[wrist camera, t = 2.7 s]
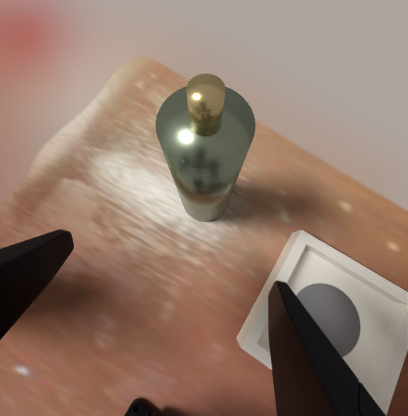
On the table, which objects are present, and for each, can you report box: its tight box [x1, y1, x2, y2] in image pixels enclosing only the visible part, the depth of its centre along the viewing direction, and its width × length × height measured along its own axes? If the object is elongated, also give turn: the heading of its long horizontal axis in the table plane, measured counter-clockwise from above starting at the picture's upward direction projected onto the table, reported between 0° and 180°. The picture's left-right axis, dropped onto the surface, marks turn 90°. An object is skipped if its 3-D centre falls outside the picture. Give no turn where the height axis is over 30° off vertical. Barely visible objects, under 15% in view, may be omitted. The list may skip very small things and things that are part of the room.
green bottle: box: [156, 74, 255, 222], centre depth 15 cm, size 5×5×15 cm
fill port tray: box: [236, 230, 408, 415], centre depth 18 cm, size 12×12×2 cm
